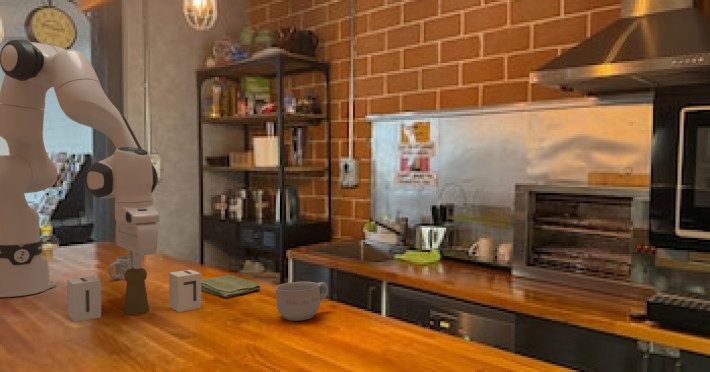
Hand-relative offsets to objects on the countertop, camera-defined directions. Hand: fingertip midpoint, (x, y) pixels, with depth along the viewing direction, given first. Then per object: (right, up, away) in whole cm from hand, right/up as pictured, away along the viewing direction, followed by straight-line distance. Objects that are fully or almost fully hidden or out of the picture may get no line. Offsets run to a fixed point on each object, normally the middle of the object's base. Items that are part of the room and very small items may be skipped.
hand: (135, 268), depth 136 cm
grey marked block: (-11, -11, -3) cm, 16 cm away
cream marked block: (+11, -11, +5) cm, 16 cm away
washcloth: (+17, -10, +23) cm, 31 cm away
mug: (-19, -9, +37) cm, 43 cm away
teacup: (+42, -12, -3) cm, 44 cm away
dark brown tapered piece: (0, -11, +1) cm, 11 cm away
